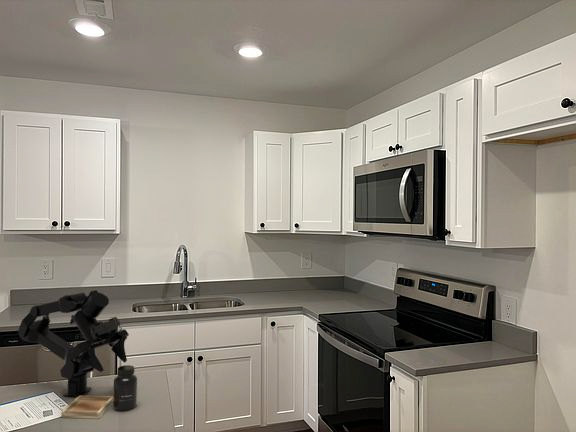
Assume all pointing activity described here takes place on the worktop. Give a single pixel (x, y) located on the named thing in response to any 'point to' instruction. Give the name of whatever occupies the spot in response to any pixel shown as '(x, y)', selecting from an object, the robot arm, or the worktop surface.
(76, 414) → the tray
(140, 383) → the worktop surface
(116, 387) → the supplement bottle
